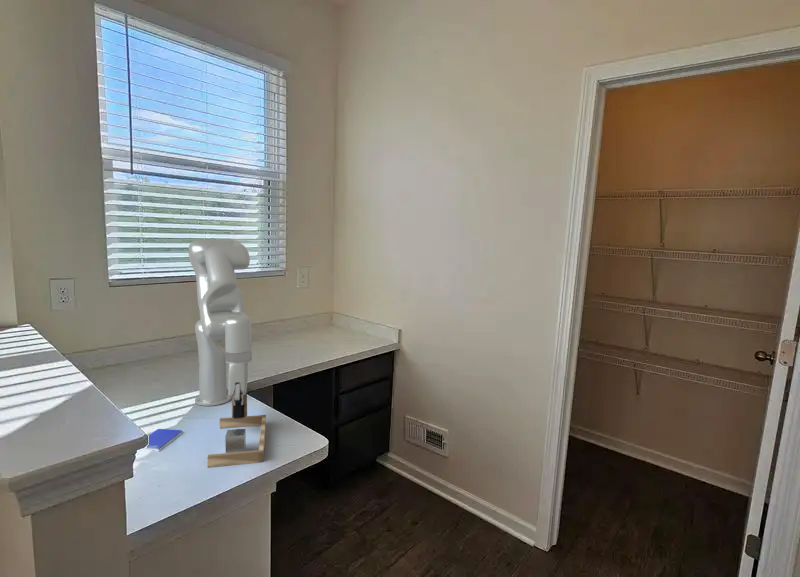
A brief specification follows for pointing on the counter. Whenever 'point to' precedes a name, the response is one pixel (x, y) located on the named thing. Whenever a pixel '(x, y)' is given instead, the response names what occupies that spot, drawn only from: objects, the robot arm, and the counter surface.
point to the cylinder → (243, 403)
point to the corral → (244, 456)
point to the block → (235, 440)
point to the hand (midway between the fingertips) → (239, 413)
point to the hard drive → (161, 438)
